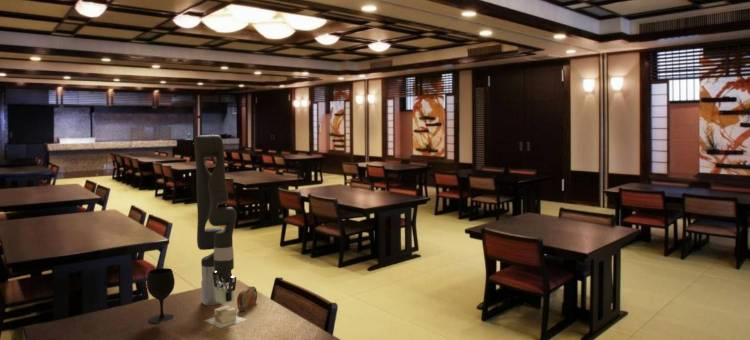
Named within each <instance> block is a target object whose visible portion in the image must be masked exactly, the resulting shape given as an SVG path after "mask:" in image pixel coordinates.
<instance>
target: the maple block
mask: <svg viewBox="0 0 750 340" xmlns="http://www.w3.org/2000/svg"><path fill="white" fill-rule="evenodd" d="M236 315H237V309H236V308H234V307H232V306H230V305H228V304H227V305H224V306H220V307H218V308H217V307H216V308H214V317H215V320H216V321H218V322H220V323H222V324H224V323H228V322H231V321H234V320H236Z"/></svg>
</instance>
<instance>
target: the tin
mask: <svg viewBox="0 0 750 340" xmlns="http://www.w3.org/2000/svg"><path fill="white" fill-rule="evenodd" d="M257 299H258V291H257V288H256V287H255V286H253V285H252V286H247V287H245V288H244V289H243V290H241V291H240V292H239V293H238V294H237V298H236V305H237V309H238V311H239V312H246V311H247V310H248V309H249V308H250V307H251V306H253V305H254V304H256V303H257Z"/></svg>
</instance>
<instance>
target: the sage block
mask: <svg viewBox="0 0 750 340" xmlns="http://www.w3.org/2000/svg"><path fill="white" fill-rule="evenodd" d="M215 291H216V302H219V303H220V305H225V304H229V303H231V302H234V300H235V298H234V297H235V295H234V292H235V291H232V300H231V301H228V302H227V301H226V290H225V287H222V288H218V289H215Z"/></svg>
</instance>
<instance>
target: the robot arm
mask: <svg viewBox="0 0 750 340" xmlns="http://www.w3.org/2000/svg"><path fill="white" fill-rule="evenodd" d="M193 144H194V156H195V157H194V158H195V168H196V170H195V171H196V208H197V225H196V226H197V230H196V231H197V232H196V242H197V243H196V244H197V248H198V249H199V250H200V251H206V250H207V251H208V250H213V252H211V253H210V254H208V255H206V256H203V257H202V258H201V260H200V264H201V265H200V266H201V283H200V284H201V285H200V286H201V287H200V288H201V302H202V305H204V306H207V307H210V306H215V305H219V304H220V305H221V303H219V302H216V291H215V289H218V288H222V287H225V290H226V301H227V302H228V301H231V300H232V291H233V292H235V291H236V284H237V277H236V276H233V274H232V270H233V269H234V268H235V264H234V263H235V262H234V260H235V259H234V258H235V257H234V256H235V255H234V247H233V236H234V229H235V225H236V221H237V217H238V216H237V211H236V209H235V208H234V207H233V206H223V207H218V206H219V205H223V204H226V203H227V202H228V201H229V193H228V186H227V180H226V171H225V170H226V169H225V168H226V167H225V153H224V152H225V149H224V141H223V139H222V136H221V135H219V134H205V135H204V134H203V135H196V136H195V138H194V142H193ZM205 158H216V162H215V166H214V169H213V171H212V173H211V172H210V170H209V169H208V167H207V165H206V163H205ZM208 222H209V224H210V225H211V226H214V227H208V228H206V225H207V223H208ZM218 226H219V227H218ZM221 226H225V227H224V228H223V229H222V228H221ZM228 303H229V302H228Z"/></svg>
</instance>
